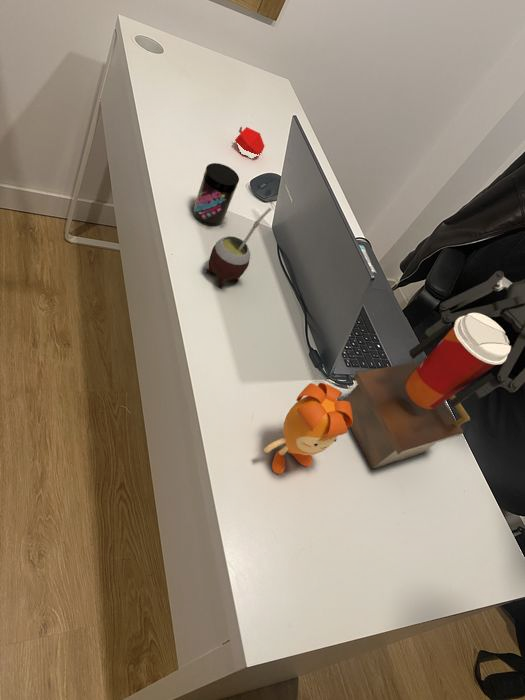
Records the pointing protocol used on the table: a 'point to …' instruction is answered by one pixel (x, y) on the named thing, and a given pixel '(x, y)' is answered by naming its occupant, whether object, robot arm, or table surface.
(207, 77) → the table surface
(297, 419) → the toy figure
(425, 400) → the coffee cup
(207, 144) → the table surface
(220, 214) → the supplement container
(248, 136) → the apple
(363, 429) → the box with handle
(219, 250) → the mate gourd
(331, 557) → the table surface
